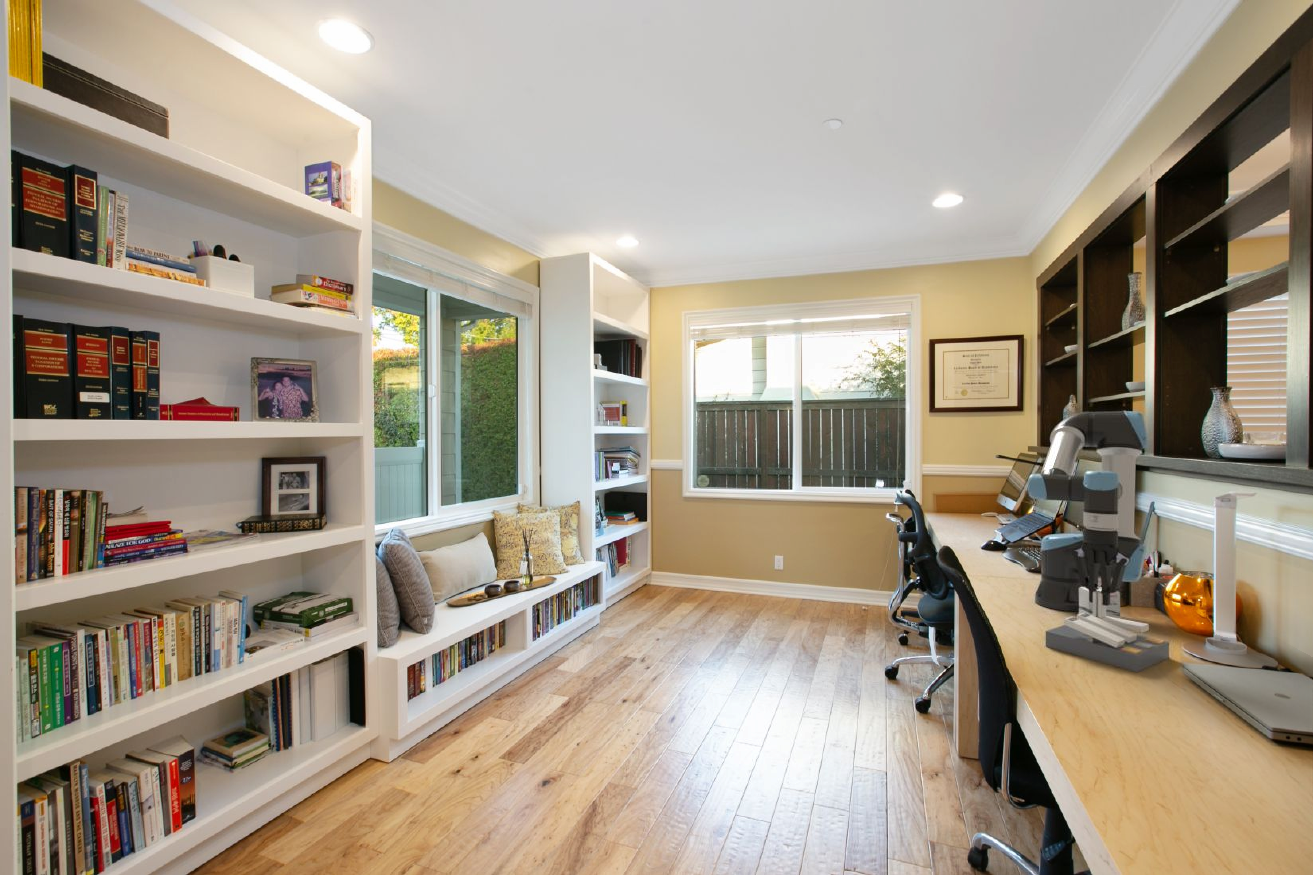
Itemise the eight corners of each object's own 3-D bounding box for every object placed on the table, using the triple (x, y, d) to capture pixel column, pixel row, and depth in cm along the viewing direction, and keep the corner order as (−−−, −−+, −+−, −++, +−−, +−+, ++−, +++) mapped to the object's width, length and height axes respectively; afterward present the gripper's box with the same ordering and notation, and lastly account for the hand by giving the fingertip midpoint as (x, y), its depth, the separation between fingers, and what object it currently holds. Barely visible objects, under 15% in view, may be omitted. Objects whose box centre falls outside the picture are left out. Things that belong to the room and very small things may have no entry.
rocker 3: (1095, 619, 162) (1094, 613, 162) (1148, 629, 152) (1148, 623, 152) (1088, 621, 160) (1087, 615, 160) (1141, 632, 150) (1141, 626, 150)
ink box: (1088, 632, 168) (1088, 591, 168) (1077, 626, 173) (1077, 586, 173) (1121, 633, 167) (1121, 591, 167) (1109, 627, 172) (1109, 587, 172)
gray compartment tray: (1079, 634, 166) (1079, 615, 166) (1168, 657, 149) (1169, 636, 149) (1045, 646, 157) (1045, 625, 157) (1136, 672, 140) (1136, 649, 140)
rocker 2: (1083, 617, 159) (1084, 611, 159) (1135, 639, 149) (1137, 633, 149) (1075, 619, 157) (1077, 614, 157) (1128, 642, 147) (1130, 636, 147)
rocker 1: (1071, 621, 156) (1072, 615, 156) (1124, 644, 146) (1125, 638, 145) (1063, 623, 154) (1064, 618, 153) (1116, 647, 144) (1118, 641, 143)
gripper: (1065, 526, 163) (1064, 611, 164) (1123, 533, 152) (1122, 625, 152) (1078, 524, 167) (1077, 607, 167) (1137, 531, 156) (1135, 620, 156)
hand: (1099, 615), depth 160 cm, fingers closed, pressing on rocker 3
